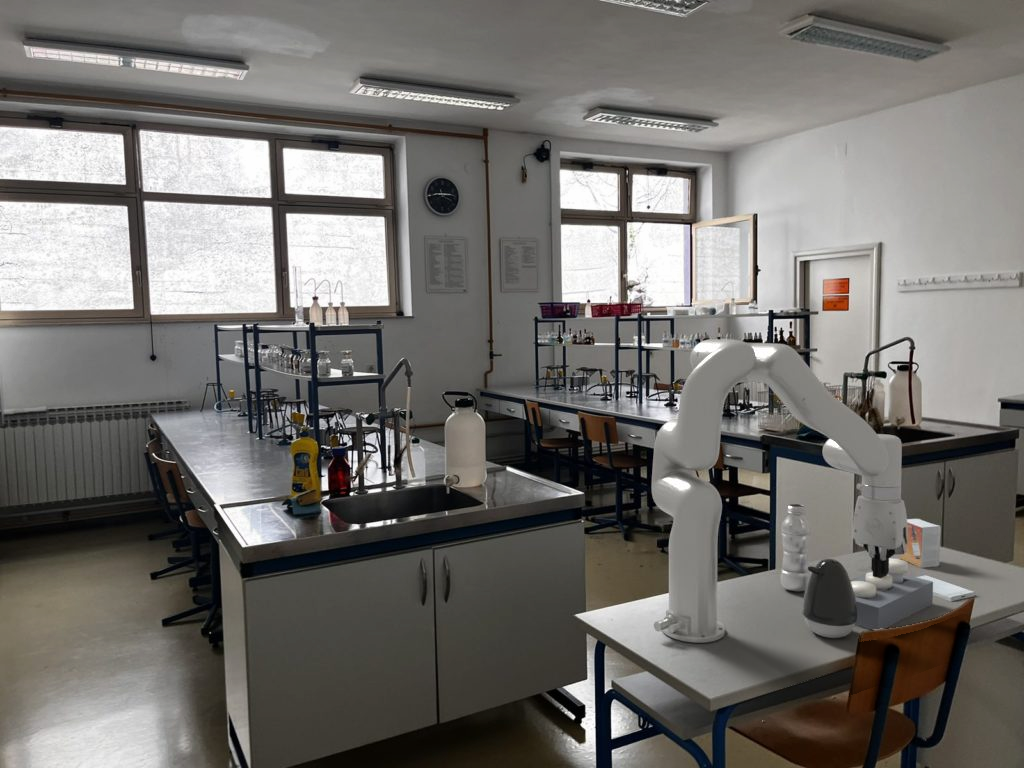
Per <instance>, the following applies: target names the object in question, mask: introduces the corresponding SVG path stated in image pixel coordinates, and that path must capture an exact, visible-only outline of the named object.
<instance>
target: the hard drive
mask: <svg viewBox="0 0 1024 768" xmlns="http://www.w3.org/2000/svg"><path fill="white" fill-rule="evenodd" d="M915 577H916V578H921V579H925V580H929V581H933V597H938V598H940V599H943V600H946V601H949V602H955V601H957V600H964V599H968V598H972V597H975V596H974V595H976V592H975V591H973V590H970V589H967V588H964V587H962V586H959V585H955V584H953V583H950V582H947V581H944V580H941V579H938V578H935V577H933V576H929V575H921V576H915ZM976 596H977V595H976Z"/></svg>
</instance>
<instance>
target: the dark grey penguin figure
mask: <svg viewBox="0 0 1024 768" xmlns="http://www.w3.org/2000/svg"><path fill="white" fill-rule="evenodd" d="M808 570H809V572H810V578H809V581H808V584H807V587H806V590H805V591H804V596H803V599H802V600H803V601H802V609H801V610H802V611H801V612H802V615H803V617H804V620H805V621H804V622H805V624H806V625H807V627H808V628H809V629H810V630H811V631H812V632H813V633H815V634H816V635H818V636H821V637H823V638H828V639H840V638H843V637H846V636H848V635H849V634H850V633H851V632H852V631H853V629H854V628H855V626H856V625H855V622H856V621H857V606H856V599H855V594H854V591H853V587H852V584H851V581H850V580H851V579H850V576H849V574H848V571H847V570H846V568H845V567H844V565H843V563H841V562H840V561H838V560H837V559H834V558H824V559H821V560H820V561H818V562H817V564H816V565H815V566H814V565H809V566H808Z"/></svg>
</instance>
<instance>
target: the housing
mask: <svg viewBox="0 0 1024 768" xmlns="http://www.w3.org/2000/svg"><path fill="white" fill-rule="evenodd" d="M870 572H873V571H872V570H871V571H870ZM916 577H917V576H911V575H909V574H905V573H904V574H903V583H902V584H897V583H893V582H892V587H891V588H888V589H887V590H886V591H884V592H883V591H880V590H876V596H875V597H872V598H869V599H864V598H861V597H857V596H855V599H856V606H857V621H856V622H855V625H854V626H857V627H861V628H864V629H867V630H870V629H880V628H885V629H887V628H889V627H891V626H893V625H895V624H897V623H898V622H900V621H902V620H904V619H906V618H907V617H910V616H911V615H913V614H915V613H918V612H919V611H922V610H923V609H925V608H927V607H929V606H931V605H933V597H934V595H933V581H929V580H925V579H921V578H916ZM850 581H851V582H852V581H864V582H866V573H863V574H861V575H859V576H857V577H854V578H852V579H850ZM886 627H887V628H886Z"/></svg>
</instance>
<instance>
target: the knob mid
mask: <svg viewBox="0 0 1024 768" xmlns="http://www.w3.org/2000/svg"><path fill="white" fill-rule="evenodd" d="M865 574H866V582H869V583H872V584H874V585H875V586H876V590H880V591H883V592H884V591H886V590H887V589H888V588H891V587H892V576H890V575H888V574H887V576H884V577H882V578H878V577H874V576H873V572H871V571H869V572H867V573H865Z"/></svg>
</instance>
